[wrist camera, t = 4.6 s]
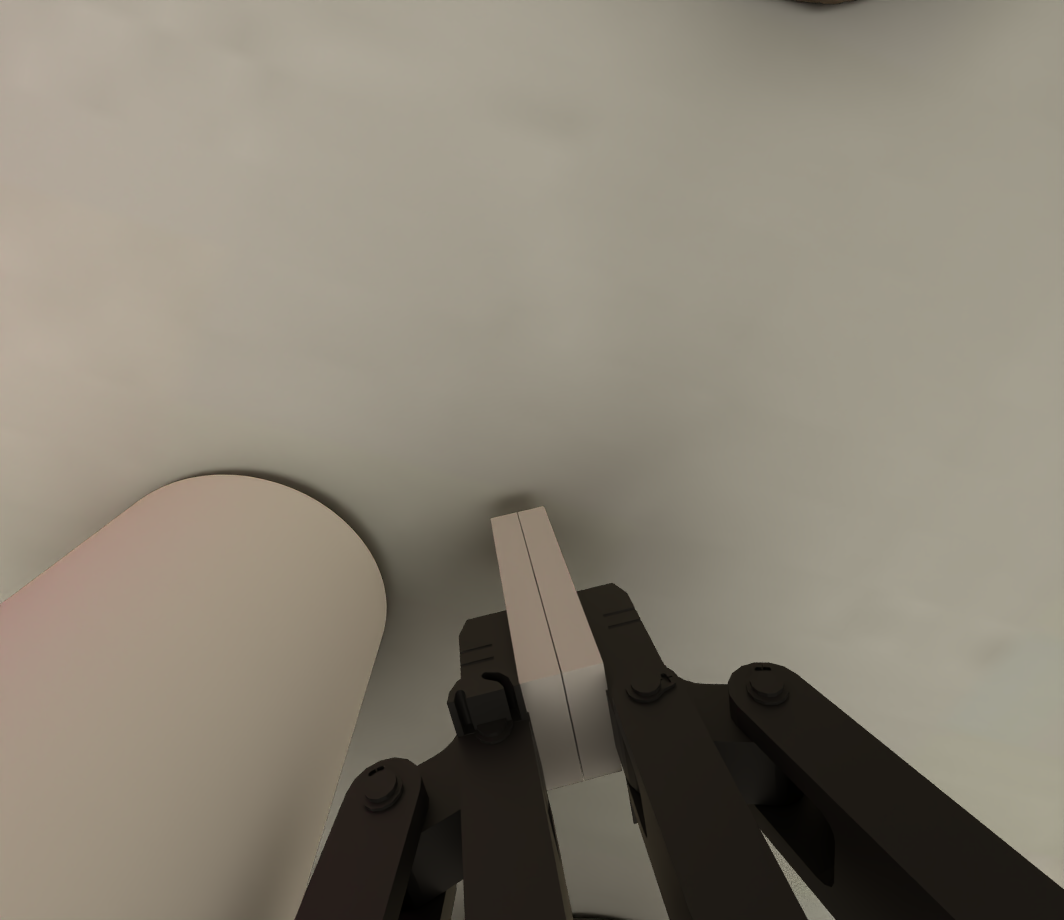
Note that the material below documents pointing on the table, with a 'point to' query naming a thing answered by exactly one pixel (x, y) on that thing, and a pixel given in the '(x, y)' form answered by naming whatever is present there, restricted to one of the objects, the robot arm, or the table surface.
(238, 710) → the cup
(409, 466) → the table surface
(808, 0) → the pillar candle
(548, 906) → the robot arm
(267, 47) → the table surface
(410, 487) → the table surface
